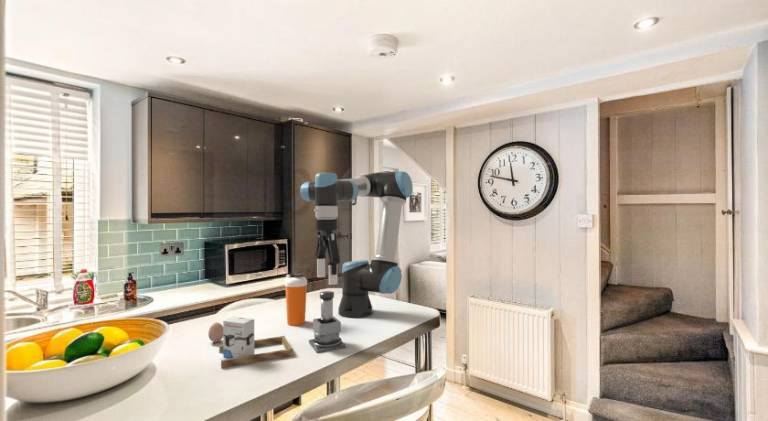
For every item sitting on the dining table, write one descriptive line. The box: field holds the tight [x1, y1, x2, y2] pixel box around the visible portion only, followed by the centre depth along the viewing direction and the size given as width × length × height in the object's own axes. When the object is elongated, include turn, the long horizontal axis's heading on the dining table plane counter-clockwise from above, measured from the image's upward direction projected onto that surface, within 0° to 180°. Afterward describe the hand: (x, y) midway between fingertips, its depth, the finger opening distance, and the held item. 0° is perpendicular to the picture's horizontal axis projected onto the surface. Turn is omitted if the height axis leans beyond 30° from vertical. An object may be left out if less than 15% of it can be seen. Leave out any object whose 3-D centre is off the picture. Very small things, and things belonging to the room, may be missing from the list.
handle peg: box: [319, 290, 335, 324], centre depth 130 cm, size 5×5×13 cm
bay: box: [218, 335, 294, 369], centre depth 123 cm, size 21×14×2 cm, turn 116°
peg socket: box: [308, 315, 347, 354], centre depth 130 cm, size 10×10×8 cm
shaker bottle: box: [284, 272, 308, 327], centre depth 154 cm, size 9×9×20 cm
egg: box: [207, 321, 223, 343], centre depth 133 cm, size 5×5×7 cm
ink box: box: [222, 316, 256, 359], centre depth 121 cm, size 8×5×12 cm, turn 70°
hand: (326, 280), depth 130 cm, fingers open, 13 cm apart
